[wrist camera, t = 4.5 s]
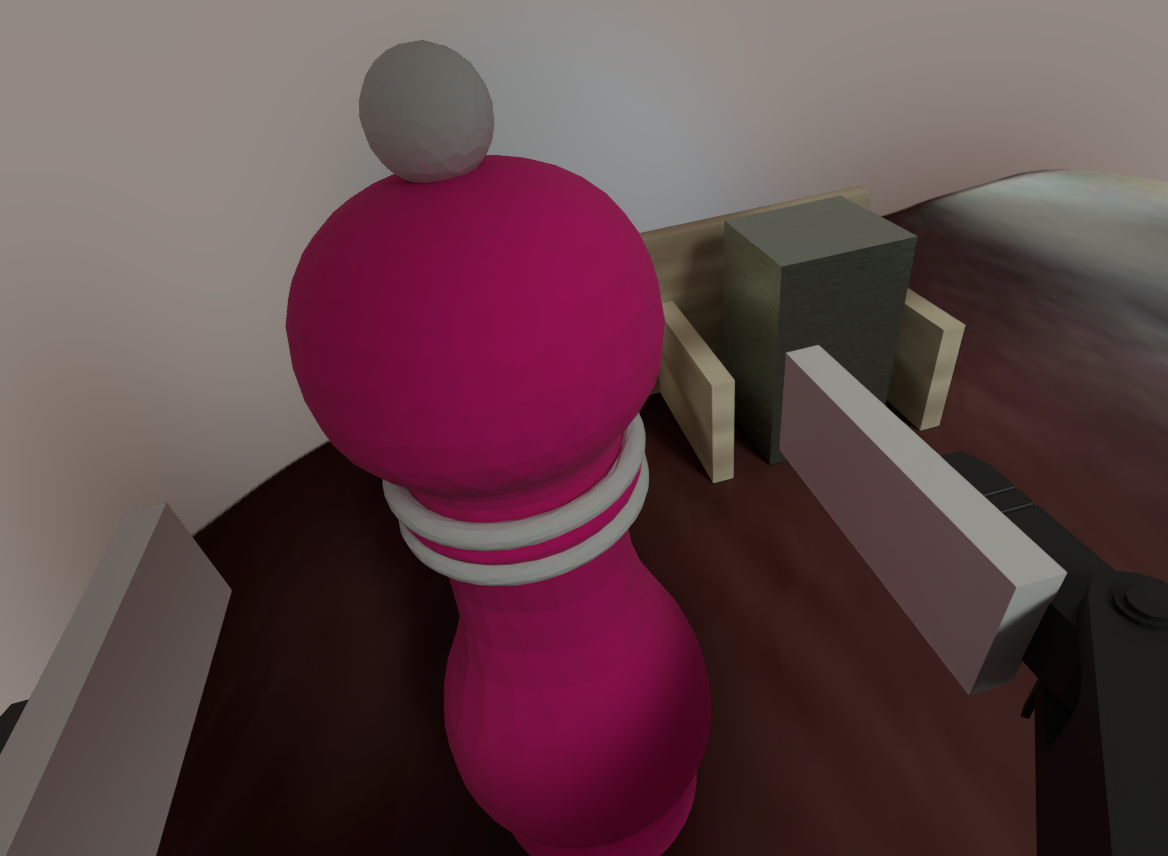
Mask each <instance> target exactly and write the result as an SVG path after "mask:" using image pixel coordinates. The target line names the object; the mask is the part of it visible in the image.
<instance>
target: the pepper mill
mask: <svg viewBox="0 0 1168 856" xmlns="http://www.w3.org/2000/svg"><path fill="white" fill-rule="evenodd" d="M359 116H360V121H361V124H362V127H363V130H364V132H365V135H366V138H367V141H368V143H369V145H370V148H371V149H372V151H373V152H374V153H375V155H376V156H377V157H378V158H379V160H380V161H381V162H382V164H384V165H385V166H386V167H387V168H388V169H389V170H390V171H391V172H393V173H394V174H393V175H391V176H389V177H387V178H385V179H382V180H380V181H378V182H376V183H373V184H372V185H370V186H369V187H367V188H365V189H364V190H362V191H361V192H359V193H358V194H356V195H354V196H353V197H351V198H350V199H349V200H347V201H346V202H345V203H344V204H343V205H341V206H340V207H339V208H338V209H337V210H336V211H334V212H333V213H332V214H331V216H330V217H329V218H328V219H327V220H326V222H325V223H324V224H323V225H322V227H321V228H320V229H319V230H318V231H317V233H316V234H315V235H314V236H313V238H312V239H311V241H310V243H309V244H308V246H307V247H306V249H305V250H304V252H303V253H302V256H301V258H300V261H299V264H298V266H297V269H296V271H295V274H294V276H293V279H292V283H291V287H290V292H289V298H288V306H287V318H286V331H287V337H288V343H289V349H290V355H291V360H292V366H293V370H294V373H295V376H296V378H297V381H298V384H299V387H300V389H301V392H302V395H303V398H304V400H305V402H306V404H307V406H308V407H309V409H310V411H311V412H312V414H313V416H314V417H315V419H316V421H317V423H318V424H319V426H320V428H321V429H322V431H323V432H324V433H325V435H326V436H327V438H328V439H329V440H330V442H331V443H332V444H333V445H334V446H335V447H336V448H337V449H338V450H339V451H340V452H341V453H342V454H343V455H344V456H346V457H347V458H348V459H349V460H350V461H351V462H352V463H353V464H354V465H356V466H358V467H360V468H362V469H364V470H366V471H367V472H369V473H371V474H373V475H375V476H377V477H379V478H381V479H383V489H384V495H385V498H386V500H387V502H388V504H389V506H390V509H391V510H392V512H393V513H394V514H395V516H396V517H397V518H398V519H399V525H400V530H401V533H402V537H403V538H404V540H405V541H406V543H407V545H408V546H409V548H410V549H411V550H412V552H413V553H414V554H415V555H416V556H417V557H418V558H419V559H420V560H421V561H422V562H423V563H424V564H425V565H426V566H428V567H430V568H431V569H433V570H435V571H436V572H439V573H441V574H443V575H446V576H448V577H449V579H450V583H451V586H452V590H453V593H454V597H455V600H456V604H457V607H458V611H459V623H458V628H457V632H456V635H455V638H454V641H453V644H452V648H451V651H450V654H449V657H448V663H447V668H446V674H445V680H444V719H445V729H446V733H447V737H448V742H449V746H450V749H451V751H452V754H453V757H454V760H455V763H456V766H457V768H458V770H459V773H460V775H461V777H462V779H463V782H464V784H465V786H466V788H467V789H468V790H469V792H470V793H471V795H472V796H473V798H474V799H475V801H476V802H477V803H478V804H479V805H480V806H481V807H482V808H483V810H484V811H485V812H486V813H487V814H488V815H489V816H490V817H491V818H492V819H493V820H495V821H496V822H497V823H498V824H500V825H501V826H503V827H504V828H506V829H507V830H509V831H510V832H512V833H513V835H514V837H515V838H516V840H517V841H518V843H519V844H520V845H521V847H522V848H523V849H524V850H525V851H526V852H527V853H528V854H529V855H530V856H660V855H661V854H662V853H663V852H664V851H666V850H667V848H668V847H669V846H670V845H671V844H672V842H673V841H674V840H675V839H676V837H677V835H678V834H679V832H680V831H681V829H682V828H683V826H684V824H685V822H686V820H687V817H688V815H689V813H690V810H691V807H692V804H693V800H694V796H695V790H696V784H697V770H698V768H699V766H700V763H701V761H702V759H703V756H704V753H705V749H706V745H707V741H708V737H709V733H710V727H711V716H712V703H711V692H710V685H709V680H708V675H707V670H706V666H705V662H704V658H703V654H702V649H701V647H700V645H699V643H698V640H697V638H696V636H695V633H694V631H693V630H692V628H691V626H690V624H689V622H688V621H687V619H686V617H685V615H684V614H683V612H682V610H681V609H680V607H679V606H678V604H677V602H676V601H675V599H674V598H673V597H672V596H671V595H670V594H669V593H668V592H667V591H666V589H665V588H664V587H663V586H662V585H661V584H660V583H659V582H658V581H657V579H656V578H655V577H654V576H653V575H652V574H651V573H650V572H649V571H648V570H647V568H646V567H645V566H644V565H643V564H642V562H641V561H640V560H639V558H638V555H637V553H636V551H635V549H634V547H633V545H632V543H631V538H630V534H629V529H628V528H629V527H630V526H631V525H632V523H633V522H634V521H635V520H636V518H637V516H638V514H639V512H640V511H641V509H642V507H643V503H644V500H645V497H646V494H647V490H648V484H649V471H648V464H647V460H646V456H645V453H644V452H645V440H646V438H645V430H644V425H643V421H642V419H641V417H640V414H639V411H640V410H641V408H642V406H643V405H644V403H645V401H646V400H647V398H648V396H649V395H650V393H651V391H652V390H653V388H654V386H655V383H656V380H657V377H658V374H659V371H660V366H661V357H662V347H663V338H664V329H665V317H664V311H663V305H662V300H661V294H660V288H659V282H658V278H657V275H656V272H655V269H654V266H653V262H652V259H651V256H650V254H649V252H648V250H647V248H646V246H645V244H644V242H643V240H642V238H641V236H640V233H639V232H638V231H637V230H636V228H635V227H634V225H633V224H632V223H631V221H630V220H629V219H628V217H627V216H626V214H625V213H624V212H623V211H622V210H621V209H620V208H619V206H618V205H617V204H616V203H615V202H614V201H613V200H612V199H611V198H610V197H609V196H608V195H607V194H606V193H605V192H603V191H602V190H600V189H599V188H597V187H596V186H595V185H593V184H592V183H590V182H589V181H587V180H586V179H584V178H583V177H581V176H579V175H576V174H574V173H572V172H570V171H567V170H565V169H563V168H561V167H558V166H556V165H552V164H548V163H544V162H540V161H536V160H532V159H527V158H522V157H511V156H501V155H486V154H487V152H488V149H489V147H490V144H491V142H492V137H493V129H494V116H493V106H492V100H491V98H490V95H489V93H488V90H487V87H486V84H485V83H484V81H483V80H482V78H481V77H480V75H479V74H478V72H477V71H476V70H475V68H474V67H473V65H472V64H471V63H470V62H469V61H468V60H466V59H465V58H463V57H462V56H461V55H460V54H458V53H457V52H456V51H454V50H452V49H450V48H448V47H446V46H443V45H439V44H435V43H432V42H428V41H424V40H420V41H414V42H409V43H402V44H398V45H396V46H394V47H392V48H390V49H388V50H386V51H385V52H384V53H383V54H382V55H380V56H379V57H378V58H377V59H376V60H375V61H374V63H373V64H372V66H371V67H370V69H369V70H368V72H367V74H366V76H365V79H364V83H363V86H362V90H361V94H360V99H359Z"/></svg>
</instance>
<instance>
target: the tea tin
mask: <svg viewBox="0 0 1168 856" xmlns="http://www.w3.org/2000/svg"><path fill="white" fill-rule="evenodd" d="M917 237H918V236H916V235H914V234H912V233H911V232H909V231H907V230H905V229H903V228H901V227H899V226H897V225H895V224H894V223H892V222H890V221H888V220H886V219H884V218H882V217H880V216H878V215H877V214H875V213H873V212H871V211H869V210H867V209H865V208H863V207H861V206H860V205H858V204H856V203H854V202H852V201H850V200H848V199H846V198H844V197H843V196H841V195H840V196H836V197H831V198H826V199H822V200H817V201H812V202H808V203H803V204H798V205H794V206H789V207H784V208H780V209H775V210H770V211H766V212H761V213H756V214H752V215H747V216H742V217H738V218H733V219H728V220H724V367H725V369H726V370H727V371H728V372H729V374H730V375H731V376H732V377H733V379H734V380H735V396H734V416H735V417H736V418H737V420H738V421H739V423H740V424H741V425H742V427H743V428H744V430H745V431H746V432H747V434H748V435H749V436H750V438H751V439H752V441H753V442H754V443H755V445H756V446H757V448H758V449H759V450H760V452H761V453H762V455H763V456H764V457H765V459H766V460H767V462H768V463H769V464H770V465H771V464H775V463H779V462H783V461H787V459H786V458H785V456H784V455H783V454H782V452H781V451H780V450H779V447H780V432H781V418H782V403H783V388H784V374H785V359H786V353H787V352H791V351H795V350H800V349H804V348H808V347H812V346H816V345H819V346H820V347H822V348H823V349H824V350H825V351H826V352H827V353H828V354H829V355H830V356H831V357H832V358H834V359H835V360H836V361H837V362H838V363H839V364H840V365H841V366H842V367H843V368H844V369H846V370H847V371H848V372H849V373H850V374H851V375H852V376H853V377H854V378H855V379H856V380H858V381H859V382H860V383H861V384H862V385H863V386H864V387H865V388H866V389H867V390H868V391H870V392H871V393H872V394H873V395H874V396H875V397H876V398H877V399H878V400H879V401H880V402H882V403H883V404H884V405H885V404H886V399H887V394H888V389H889V383H890V378H891V373H892V368H893V363H894V357H895V352H896V347H897V342H898V336H899V331H900V326H901V321H902V315H903V310H904V305H905V300H906V295H907V289H908V284H909V279H910V274H911V268H912V263H913V258H914V253H915V247H916V242H917Z"/></svg>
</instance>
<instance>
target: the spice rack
mask: <svg viewBox="0 0 1168 856" xmlns="http://www.w3.org/2000/svg"><path fill="white" fill-rule="evenodd" d="M870 193H871V191H869V190H866V189H865V188H862V187H860V186H858V187H853V188H849V189H844V190H839V191H834V192H830V193H825V194H821V195H816V196H811V197H806V198H802V199H797V200H792V201H788V202H783V203H778V204H774V205H769V206H764V207H760V208H755V209H751V210H746V211H741V212H736V213H732V214H727V215H722V216H718V217H713V218H708V219H703V220H699V221H694V222H690V223H685V224H681V225H676V226H671V227H666V228H662V229H657V230H652V231H647V232H643V233H640V236H641V238H642V240H643V242H644V244H645V246H646V248H647V250H648V252H649V254H650V256H651V259H652V262H653V266H654V269H655V272H656V275H657V278H658V282H659V288H660V294H661V300H662V305H663V311H664V317H665V329H664V338H663V347H662V357H661V366H660V371H659V374H658V377H657V380H656V383H655V386H654V388H653V390H652V391H651V393H650V395H652V394H656V393H661V394H662V396H663V398H664V400H665V401H666V403H667V405H668V407H669V408H670V410H671V412H672V413H673V415H674V417H675V419H676V420H677V422H678V424H679V425H680V427H681V429H682V431H683V432H684V434H685V436H686V437H687V439H688V441H689V443H690V444H691V446H692V448H693V449H694V451H695V453H696V455H697V456H698V458H699V460H700V461H701V463H702V465H703V467H704V468H705V470H706V472H707V473H708V475H709V477H710V479H711V480H712V482H713V483H716V482H719V481H723V480H727V479H731V478H733V472H734V396H735V380H734V379H733V377H732V376H731V375H730V374H729V372H728V371H727V370H726V369H725V367H724V220H728V219H733V218H738V217H742V216H747V215H752V214H756V213H761V212H766V211H770V210H775V209H780V208H784V207H789V206H794V205H798V204H803V203H808V202H812V201H817V200H822V199H826V198H831V197H836V196H840V195H841V196H843V197H844V198H846V199H848V200H850V201H852V202H854V203H856V204H858V205H860V206H861V207H863V208H865V209H867V210H868V208H869V201H870ZM964 328H965V325H964V324H963V323H961V322H960V321H958V320H957V319H955V318H953V317H952V316H950V315H949V314H947V313H946V312H944V311H943V310H941V309H940V308H938V307H936V306H935V305H933V304H932V303H930V302H929V301H927V300H926V299H924V298H922V297H921V296H919V295H918V294H916V293H915V292H913V291H912V290H910V289H907V295H906V300H905V305H904V310H903V315H902V321H901V326H900V331H899V336H898V342H897V347H896V352H895V357H894V363H893V368H892V373H891V378H890V383H889V389H888V394H887V399H886V400H887V401H888V402H889V403H890V404H891V405H893V406H894V407H895V408H896V409H897V410H898V411H899V412H900V413H901V414H902V415H904V416H905V417H906V418H907V419H908V420H909V421H910V422H911V423H912V424H913V425H914V426H916V427H917V428H918V429H919V430H924V429H928V428H932V427H936V426H939V424H940V420H941V416H942V413H943V409H944V405H945V401H946V397H947V393H948V390H949V386H950V382H951V378H952V374H953V370H954V367H955V363H956V359H957V355H958V351H959V347H960V344H961V340H962V336H963V332H964Z"/></svg>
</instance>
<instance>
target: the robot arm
mask: <svg viewBox="0 0 1168 856" xmlns="http://www.w3.org/2000/svg"><path fill="white" fill-rule="evenodd" d="M779 450H780V451H781V452H782V454H783V455H784V456H785V458H786V459H787V460H788V461H789V463H790V464H791V465H792V467H793V468H794V469H795V470H796V472H797V473H798V474H799V476H800V477H801V478H802V480H803V481H804V482H805V483H806V485H807V486H808V487H809V489H810V490H811V491H812V493H813V494H814V495H815V496H816V498H817V499H818V500H819V502H820V503H821V504H822V505H823V507H824V508H825V509H826V511H827V512H828V513H829V515H830V516H831V517H832V518H833V520H834V521H835V522H836V524H837V525H838V526H839V527H840V529H841V530H842V531H843V533H844V534H845V535H846V537H847V538H848V539H849V540H850V542H851V543H852V544H853V546H854V547H855V548H856V550H857V551H858V552H859V553H860V555H861V556H862V557H863V559H864V560H865V561H866V562H867V564H868V565H869V566H870V568H871V569H872V570H873V572H874V573H875V574H876V575H877V577H878V578H879V579H880V581H881V582H882V583H883V585H884V586H885V587H886V588H887V590H888V591H889V592H890V594H891V595H892V596H893V597H894V599H895V600H896V601H897V603H898V604H899V605H900V607H901V608H902V609H903V610H904V612H905V613H906V614H907V616H908V617H909V618H910V619H911V621H912V622H913V623H914V625H915V626H916V627H917V629H918V630H919V631H920V632H921V634H922V635H923V636H924V638H925V639H926V640H927V642H928V643H929V644H930V645H931V647H932V648H933V649H934V651H935V652H936V653H937V654H938V656H939V657H940V658H941V660H942V661H943V662H944V664H945V665H946V666H947V667H948V669H949V670H950V671H951V673H952V674H953V675H954V677H955V678H956V679H957V680H958V682H959V683H960V684H961V686H962V687H963V688H964V689H965V691H966V692H967V693H968V695H972V694H975V693H978V692H982V691H985V690H988V689H992V688H995V687H998V686H1001V685H1005V684H1008V683H1011V682H1012V681H1013V679H1014V677H1015V675H1016V673H1017V671H1018V669H1019V667H1020V665H1021V663H1022V661H1023V662H1024V663H1025V664H1026V665H1027V666H1028V667H1029V669H1030V670H1031V671H1032V672H1033V673H1034V674H1035V675H1036V676H1037V678H1038V680H1037V682H1036V684H1035V686H1034V687H1033V689H1032V691H1031V693H1030V695H1029V697H1028V698H1027V700H1026V702H1025V704H1024V706H1023V710H1022V713H1021V717H1024V718H1027V719H1029V718H1030V716H1031V714H1032V712H1033V711H1034V709H1035V765H1036V827H1037V856H1168V584H1167V583H1165V582H1163V581H1161V580H1158V579H1155V578H1152V577H1149V576H1146V575H1143V574H1140V573H1132V572H1123V571H1116V570H1114V569H1113V568H1112V567H1110V566H1109V565H1108V564H1106V563H1105V562H1104V561H1103V560H1102V559H1100V558H1099V557H1098V556H1097V555H1096V554H1095V553H1093V552H1092V551H1091V550H1090V549H1089V548H1087V547H1086V546H1085V545H1084V544H1083V543H1082V542H1080V541H1079V540H1078V539H1077V538H1076V537H1075V536H1073V535H1072V534H1071V533H1070V532H1069V531H1068V530H1066V529H1065V528H1064V527H1063V526H1062V525H1060V524H1059V523H1058V522H1057V521H1056V520H1055V519H1053V518H1052V517H1051V516H1050V515H1049V514H1048V513H1046V512H1045V511H1044V510H1043V509H1042V508H1040V507H1039V506H1038V505H1037V506H1035V505H1034V504H1033V501H1032V500H1031V499H1030V498H1029V497H1028V496H1026V495H1025V494H1024V493H1023V492H1022V491H1021V490H1019V489H1015V488H1014V485H1013V484H1012V483H1011V482H1010V481H1009V480H1008V479H1006V478H1005V477H1004V476H1003V475H1002V474H1001V473H999V472H998V471H997V470H996V469H995V468H994V467H992V466H991V465H989V464H987V463H985V462H983V461H981V460H979V459H977V458H975V457H973V456H970V455H968V454H966V453H964V452H962V451H958V452H955V453H951V454H947V455H943V456H939V455H938V454H937V453H936V452H935V451H934V450H933V449H932V448H931V447H930V446H929V445H927V444H926V443H925V442H924V441H923V440H922V439H921V438H920V437H919V436H918V435H916V434H915V433H914V432H913V431H912V430H911V429H910V428H909V427H908V426H907V425H906V424H904V423H903V422H902V421H901V420H900V419H899V418H898V417H897V416H896V415H895V414H894V413H892V412H891V411H890V410H889V409H888V408H887V407H886V406H885V405H884V404H883V403H882V402H880V401H879V400H878V399H877V398H876V397H875V396H874V395H873V394H872V393H871V392H870V391H868V390H867V389H866V388H865V387H864V386H863V385H862V384H861V383H860V382H859V381H858V380H856V379H855V378H854V377H853V376H852V375H851V374H850V373H849V372H848V371H847V370H846V369H844V368H843V367H842V366H841V365H840V364H839V363H838V362H837V361H836V360H835V359H834V358H832V357H831V356H830V355H829V354H828V353H827V352H826V351H825V350H824V349H823V348H822V347H820V346H819V345H816V346H812V347H808V348H804V349H800V350H795V351H791V352H787V353H786V359H785V374H784V388H783V403H782V418H781V432H780V447H779ZM231 591H232V590H231V588H230V587H229V586H228V584H227V583H226V582H225V580H224V579H223V578H222V576H221V575H220V574H219V572H218V571H217V570H216V568H215V567H214V566H213V564H212V563H211V562H210V560H209V559H208V558H207V556H206V555H205V554H204V552H203V551H202V549H201V548H200V547H199V545H198V544H197V543H196V541H195V540H194V539H193V537H192V536H191V535H190V533H189V532H188V531H187V529H186V528H185V527H184V525H183V524H182V523H181V521H180V520H179V519H178V517H177V516H176V515H175V513H174V512H173V511H172V509H171V508H170V507H169V505H168V504H167V503H163V504H158V505H154V506H150V507H146V508H142V509H138V510H134V511H130V512H127V513H126V514H125V516H124V518H123V520H122V522H121V524H120V526H119V528H118V530H117V532H116V534H115V535H114V538H113V539H112V541H111V543H110V545H109V547H108V549H107V551H106V553H105V555H104V557H103V558H102V561H101V562H100V564H99V566H98V568H97V570H96V572H95V574H94V576H93V578H92V580H91V582H90V583H89V585H88V588H87V589H86V591H85V593H84V595H83V597H82V599H81V601H80V603H79V605H78V606H77V609H76V610H75V612H74V614H73V616H72V618H71V620H70V622H69V624H68V626H67V628H66V629H65V632H64V633H63V635H62V637H61V639H60V641H59V643H58V645H57V647H56V649H55V651H54V653H53V654H52V656H51V658H50V660H49V662H48V664H47V666H46V668H45V670H44V672H43V674H42V676H41V678H40V679H39V681H38V683H37V685H36V687H35V689H34V691H33V693H32V695H31V697H30V699H29V700H25V701H21V702H18V703H14V704H11V705H10V706H9V707H8V709H7V710H6V711H5V712H4V713H3V714H2V715H1V716H0V856H156V854H157V850H158V847H159V843H160V840H161V836H162V833H163V829H164V826H165V822H166V819H167V815H168V812H169V808H170V805H171V801H172V798H173V794H174V791H175V787H176V784H177V780H178V777H179V773H180V770H181V766H182V763H183V759H184V756H185V752H186V749H187V745H188V742H189V738H190V735H191V731H192V728H193V724H194V721H195V717H196V714H197V710H198V707H199V703H200V700H201V696H202V693H203V689H204V686H205V682H206V679H207V675H208V672H209V668H210V665H211V661H212V658H213V654H214V651H215V647H216V644H217V640H218V637H219V633H220V630H221V626H222V623H223V619H224V616H225V612H226V609H227V605H228V602H229V598H230V595H231Z"/></svg>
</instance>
